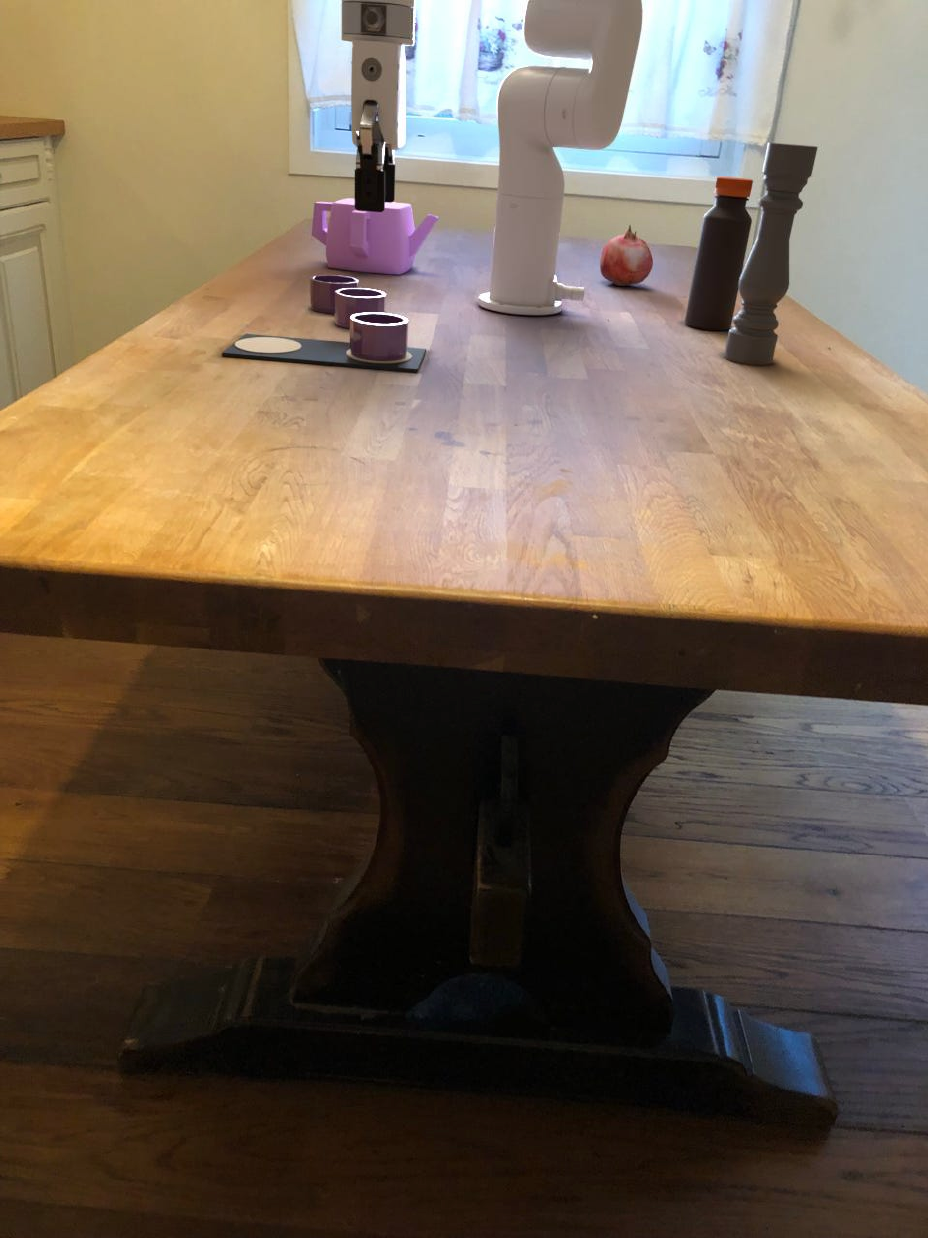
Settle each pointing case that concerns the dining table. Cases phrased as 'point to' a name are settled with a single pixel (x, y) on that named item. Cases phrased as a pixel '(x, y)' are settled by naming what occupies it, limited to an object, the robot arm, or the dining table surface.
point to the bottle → (720, 256)
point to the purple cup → (328, 290)
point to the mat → (316, 353)
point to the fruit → (626, 260)
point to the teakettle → (370, 236)
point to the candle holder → (769, 255)
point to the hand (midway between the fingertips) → (375, 205)
